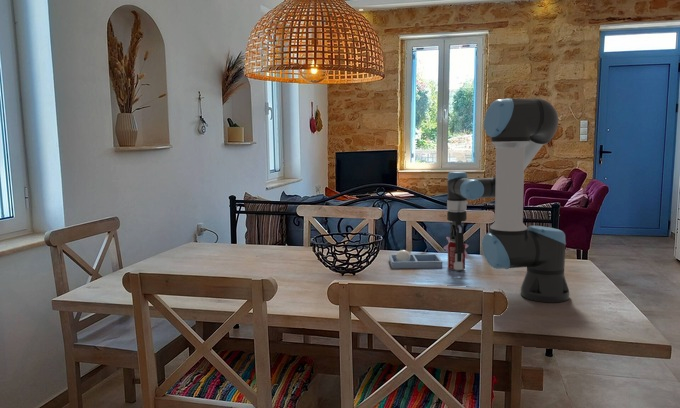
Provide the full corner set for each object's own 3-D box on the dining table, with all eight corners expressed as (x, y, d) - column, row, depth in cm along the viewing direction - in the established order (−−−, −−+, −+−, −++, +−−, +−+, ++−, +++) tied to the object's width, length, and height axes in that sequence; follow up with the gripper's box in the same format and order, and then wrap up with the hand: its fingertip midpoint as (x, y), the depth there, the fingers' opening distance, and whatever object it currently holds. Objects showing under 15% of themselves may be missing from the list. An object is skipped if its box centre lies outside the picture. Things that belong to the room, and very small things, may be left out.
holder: (442, 268, 213) (442, 261, 213) (392, 269, 213) (391, 262, 213) (436, 260, 226) (436, 254, 226) (389, 261, 227) (389, 254, 226)
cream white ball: (411, 265, 217) (411, 251, 216) (396, 265, 217) (396, 251, 216) (409, 262, 223) (409, 248, 222) (395, 262, 223) (395, 248, 222)
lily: (438, 261, 231) (446, 244, 225) (438, 245, 241) (446, 229, 235) (464, 269, 230) (473, 252, 225) (464, 253, 240) (471, 237, 235)
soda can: (465, 272, 207) (465, 242, 206) (447, 271, 209) (447, 241, 207) (464, 267, 214) (465, 238, 212) (447, 267, 215) (447, 238, 214)
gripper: (472, 214, 198) (471, 273, 200) (460, 206, 219) (460, 260, 221) (452, 214, 198) (452, 273, 201) (442, 207, 219) (442, 260, 222)
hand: (456, 266), depth 211 cm, fingers open, 8 cm apart
